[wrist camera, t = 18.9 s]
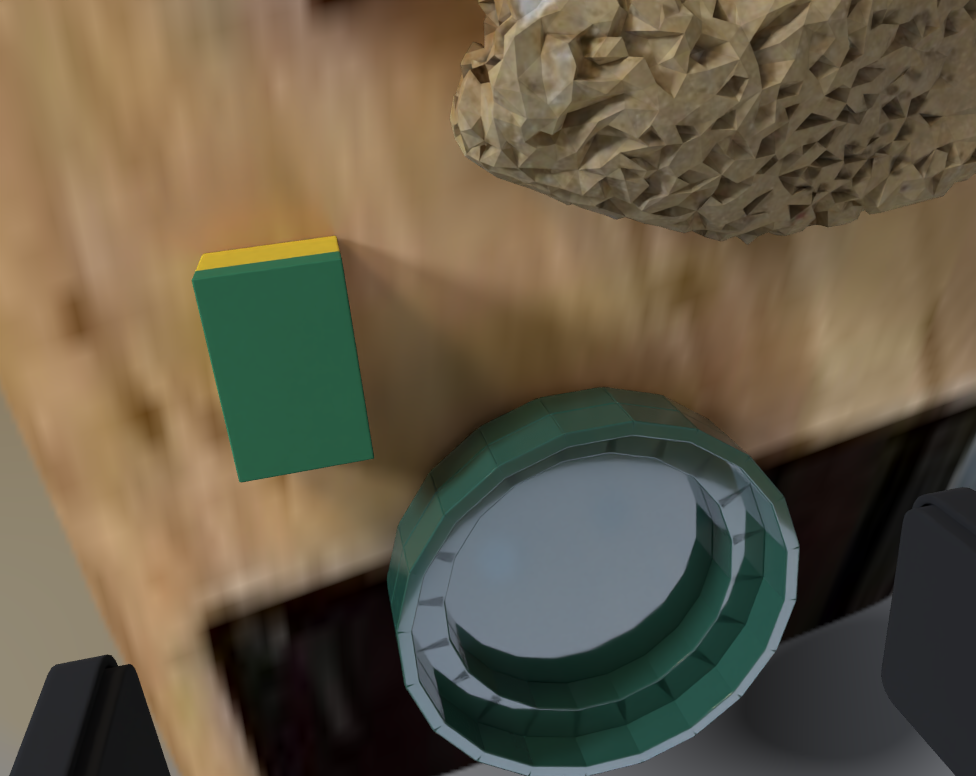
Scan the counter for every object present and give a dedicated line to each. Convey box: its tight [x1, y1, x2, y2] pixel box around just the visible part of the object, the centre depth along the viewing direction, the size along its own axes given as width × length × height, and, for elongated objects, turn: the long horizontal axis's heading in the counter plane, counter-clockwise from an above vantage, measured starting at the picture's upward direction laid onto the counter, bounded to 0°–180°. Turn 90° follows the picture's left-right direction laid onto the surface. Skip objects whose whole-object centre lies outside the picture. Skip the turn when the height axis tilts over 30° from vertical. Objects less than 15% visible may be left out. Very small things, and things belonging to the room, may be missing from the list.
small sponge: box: [192, 236, 374, 482], centre depth 29 cm, size 7×4×4 cm, turn 6°
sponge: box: [450, 0, 976, 245], centre depth 27 cm, size 13×8×20 cm
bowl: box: [387, 387, 800, 776], centre depth 35 cm, size 16×16×4 cm
